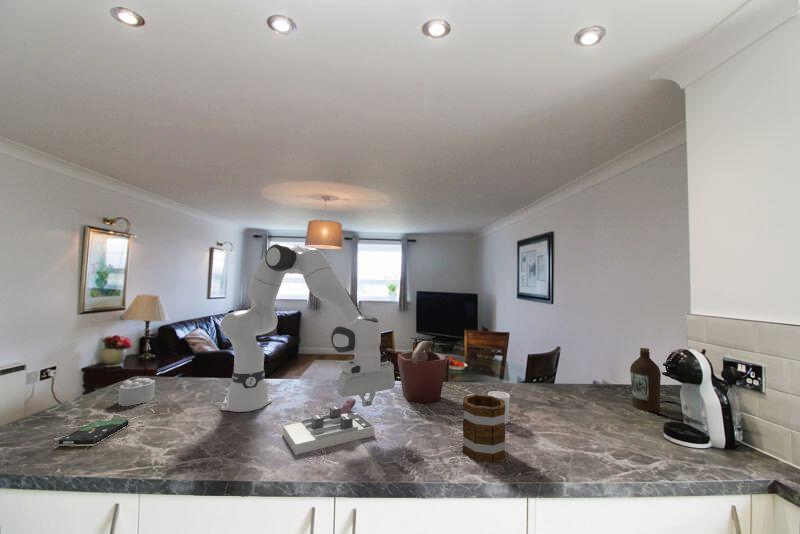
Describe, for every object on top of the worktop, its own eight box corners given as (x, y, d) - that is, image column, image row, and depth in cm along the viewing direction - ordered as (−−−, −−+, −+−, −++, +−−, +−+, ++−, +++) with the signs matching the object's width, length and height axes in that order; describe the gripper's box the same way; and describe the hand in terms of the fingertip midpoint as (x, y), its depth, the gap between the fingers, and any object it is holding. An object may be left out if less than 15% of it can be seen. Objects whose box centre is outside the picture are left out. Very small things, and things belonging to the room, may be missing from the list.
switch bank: (283, 435, 112) (283, 422, 112) (355, 419, 126) (355, 408, 126) (295, 454, 99) (295, 440, 99) (374, 435, 113) (374, 423, 113)
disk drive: (94, 448, 102) (128, 427, 117) (95, 439, 102) (129, 419, 117) (57, 449, 101) (96, 427, 116) (57, 439, 101) (96, 419, 116)
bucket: (417, 387, 168) (418, 336, 169) (458, 396, 155) (459, 341, 157) (387, 400, 148) (388, 342, 150) (431, 411, 135) (432, 348, 137)
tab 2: (340, 427, 111) (340, 416, 111) (348, 425, 113) (349, 414, 113) (343, 430, 109) (344, 419, 109) (352, 428, 110) (352, 417, 110)
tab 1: (329, 417, 120) (329, 406, 120) (337, 415, 121) (337, 405, 121) (332, 420, 117) (332, 409, 117) (340, 418, 119) (341, 408, 119)
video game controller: (343, 423, 126) (351, 407, 126) (333, 417, 127) (341, 400, 127) (351, 414, 136) (359, 398, 136) (342, 407, 137) (350, 392, 136)
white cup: (511, 419, 129) (511, 392, 129) (508, 427, 122) (508, 398, 122) (489, 416, 132) (490, 389, 133) (486, 423, 125) (486, 395, 126)
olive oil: (640, 402, 152) (639, 345, 153) (667, 410, 142) (665, 349, 143) (625, 405, 148) (624, 346, 149) (651, 413, 138) (649, 351, 139)
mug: (515, 461, 98) (515, 408, 99) (470, 464, 96) (470, 410, 97) (487, 432, 117) (487, 388, 118) (449, 434, 115) (450, 389, 116)
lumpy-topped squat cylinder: (157, 396, 148) (159, 376, 148) (138, 406, 135) (140, 384, 136) (131, 396, 147) (133, 376, 147) (110, 407, 134) (111, 385, 134)
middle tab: (311, 426, 111) (311, 416, 111) (320, 425, 113) (320, 414, 113) (314, 430, 108) (314, 419, 109) (323, 428, 110) (323, 417, 110)
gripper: (389, 359, 124) (388, 397, 123) (336, 365, 113) (335, 408, 112) (398, 362, 118) (398, 403, 117) (343, 369, 107) (342, 414, 107)
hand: (367, 405), depth 115 cm, fingers closed
